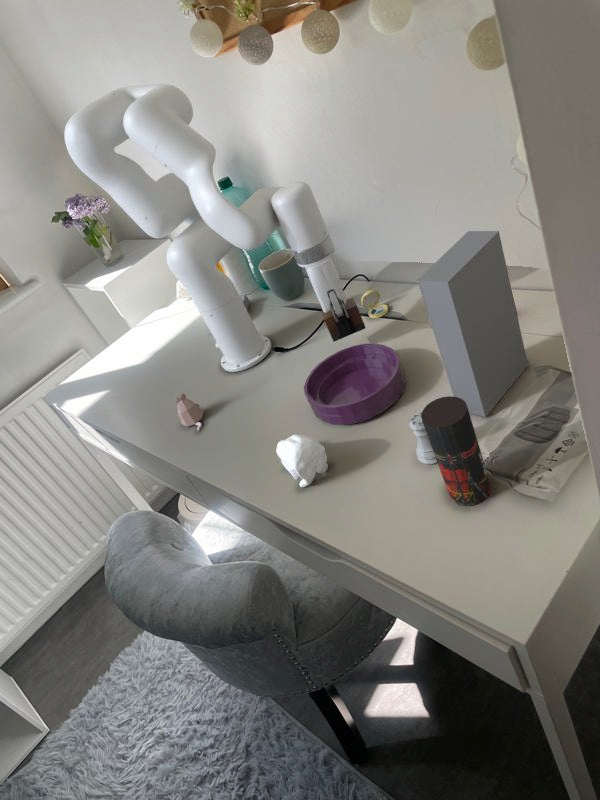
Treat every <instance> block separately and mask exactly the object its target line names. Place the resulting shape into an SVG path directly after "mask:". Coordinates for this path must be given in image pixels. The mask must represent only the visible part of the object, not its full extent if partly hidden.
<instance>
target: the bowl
mask: <svg viewBox="0 0 600 800" xmlns="http://www.w3.org/2000/svg"><path fill="white" fill-rule="evenodd" d="M406 381H407V377H406V374H405V371H404V367H403V366H402V363H401V360H400V357H399V355H398V353H397V352H396V351H395V350H394V349H393V348H392V347H390V346H388V345H385V344H382V343H361V344H356V345H352V346H350V347H346V348H344V349H341V350H339V351H337V352H335V353H333V354H331V355H329V356H328V357H326V358H324V359H323V360H322V361H321V362H319V363H318V364H317V365H316V366H315V367H314V368H313V369H312V370H311V371H310V373H309V374H308V376H307V377H306V379H305V382H304V386H303V391H304V395H305V397H306V400H307V402H308V404H309V406H310V408H311V411H312V412H313V414H314V415H315V417H316V418H317V419H319V420H320V421H322V422H324V423H327V424H330V425H338V426H339V425H341V426H345V425H351V424H358V423H361V422H364V421H367V420H370V419H373V418H374V417H375V416H378V415H380V414H382V413H383V412H385V411H386V410H387V409H389V408H390V407H391V406H392V405H394V404H395V402H396V401H397V400H398V399H399V398H400V397H401V396H402V394H403V392H404V390H405V387H406Z"/></svg>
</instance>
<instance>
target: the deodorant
mask: <svg viewBox="0 0 600 800" xmlns="http://www.w3.org/2000/svg"><path fill="white" fill-rule="evenodd" d="M421 413H422V414H421V418H422V421H423V424H424V427H425V430H426V433H427V435H428V438H429V441H430V444H431V446H432V449H433V452H434V455H435V457H436V460H437V463H436V464H437V465H438V468H439V471H440V474H441V476H442V480H443V482H444V486H445V488H446V491H447V493H448V496H449V498H450V500H451V501H452V502H453V503H455V504H456V505H458V506H462V507H473V506H476V505H479V504H482V503H483V502H484V501H485V500H487V499H488V498H489V497H490V494H491V493H492V484H491V480H490V477H489V474H488V471H487V467H486V464H485V461H484V458H483V454H482V451H481V448H480V444H479V441H478V438H477V434H476V431H475V428H474V424H473V420H472V417H471V413H469V411H468V407H467V404H466V402H465V401H464V400H462V399H461V398H458V397H454V396H453V395H451V396H443V397H439V398H436V399H434V400H432V401H430V402H429V403H428V404H426V405H425V407H423V410H422V411H421Z"/></svg>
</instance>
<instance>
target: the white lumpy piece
mask: <svg viewBox="0 0 600 800" xmlns="http://www.w3.org/2000/svg"><path fill="white" fill-rule="evenodd" d="M275 451H276V455H277V456H278V458H279V459H280V461H279V464H281V465H282V466H283V467H284V468H285V470H286V471H288V472H289V473H290V475H291V476H292V477H293V478H294V480H295V481H297V480H298V479H299V478H300V479H301V480H300V481H299V487H300V488H306V487H309V486H310V485H311V484H312V483H313V481H314V480H315V478H316V474H324V473H326V472H327V470H328V468H329V465H328V463H327V461H328V457H327V453H326V448H325V447H324V445H323V444H321V443H320V442H318V440H317V439H315V438H314V437H312V436H310V435H304V434H292V435H290V436H288V437H287V438H286V439H281V440H280V441H278V443H277V446H276V449H275Z"/></svg>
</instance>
